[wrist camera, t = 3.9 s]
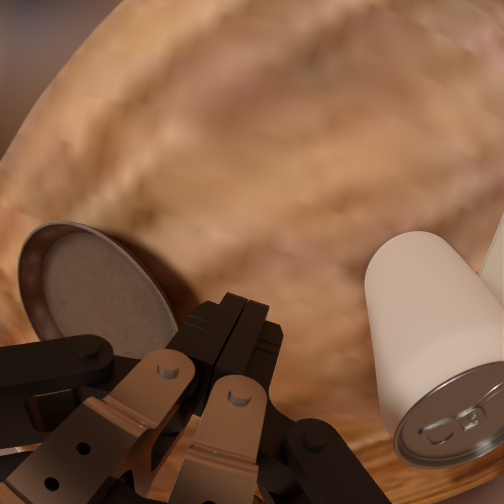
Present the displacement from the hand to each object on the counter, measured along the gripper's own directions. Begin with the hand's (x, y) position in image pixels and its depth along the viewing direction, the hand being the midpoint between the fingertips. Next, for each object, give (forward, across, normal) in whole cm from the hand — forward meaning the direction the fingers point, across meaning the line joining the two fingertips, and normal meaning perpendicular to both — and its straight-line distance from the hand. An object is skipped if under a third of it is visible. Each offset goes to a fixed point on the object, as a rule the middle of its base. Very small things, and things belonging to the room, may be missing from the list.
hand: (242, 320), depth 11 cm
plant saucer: (+10, +13, +11) cm, 20 cm away
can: (+10, -9, 0) cm, 13 cm away
